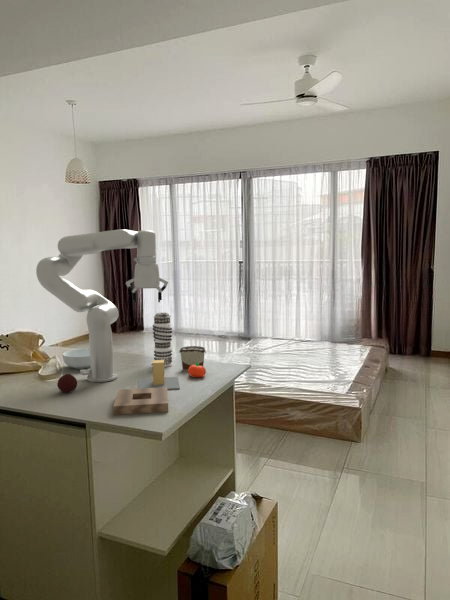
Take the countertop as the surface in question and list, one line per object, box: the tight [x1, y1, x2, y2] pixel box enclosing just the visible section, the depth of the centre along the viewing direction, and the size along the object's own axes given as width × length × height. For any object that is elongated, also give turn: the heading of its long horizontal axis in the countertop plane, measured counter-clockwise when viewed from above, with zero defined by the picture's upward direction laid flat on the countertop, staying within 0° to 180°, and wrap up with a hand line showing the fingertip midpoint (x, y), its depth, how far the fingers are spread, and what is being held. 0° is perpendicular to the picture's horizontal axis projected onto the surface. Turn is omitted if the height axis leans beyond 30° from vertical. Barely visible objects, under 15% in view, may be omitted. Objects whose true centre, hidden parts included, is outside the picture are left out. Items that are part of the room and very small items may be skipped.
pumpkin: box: [187, 363, 207, 378], centre depth 190 cm, size 7×8×6 cm
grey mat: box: [137, 376, 180, 391], centre depth 179 cm, size 16×16×1 cm
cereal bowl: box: [62, 348, 90, 370], centre depth 208 cm, size 17×17×7 cm
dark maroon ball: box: [56, 373, 78, 394], centre depth 169 cm, size 7×8×7 cm
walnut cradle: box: [112, 387, 169, 416], centre depth 155 cm, size 18×18×3 cm
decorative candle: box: [152, 312, 173, 368], centre depth 209 cm, size 9×9×25 cm
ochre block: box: [152, 359, 165, 385], centre depth 178 cm, size 4×4×9 cm
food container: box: [178, 345, 207, 371], centre depth 203 cm, size 12×6×10 cm, turn 84°
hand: (147, 302), depth 182 cm, fingers open, 9 cm apart
